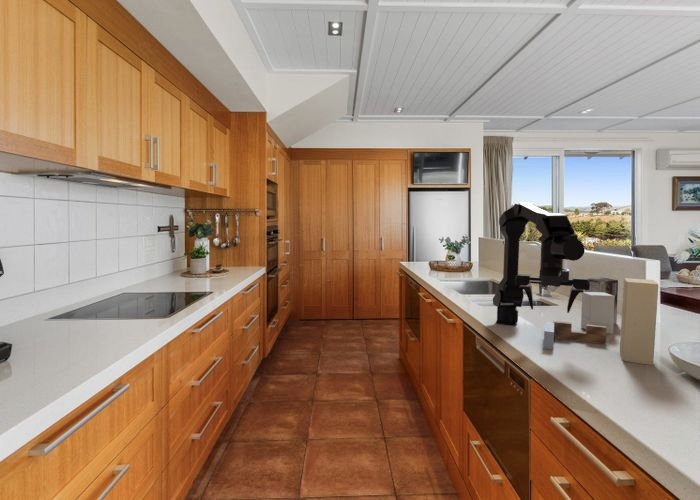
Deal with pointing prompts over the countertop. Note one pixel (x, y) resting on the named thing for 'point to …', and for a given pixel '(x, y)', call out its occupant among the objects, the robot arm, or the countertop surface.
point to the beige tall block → (638, 320)
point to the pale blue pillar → (549, 335)
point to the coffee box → (605, 289)
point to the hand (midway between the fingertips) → (549, 310)
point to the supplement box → (598, 310)
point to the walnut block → (591, 335)
